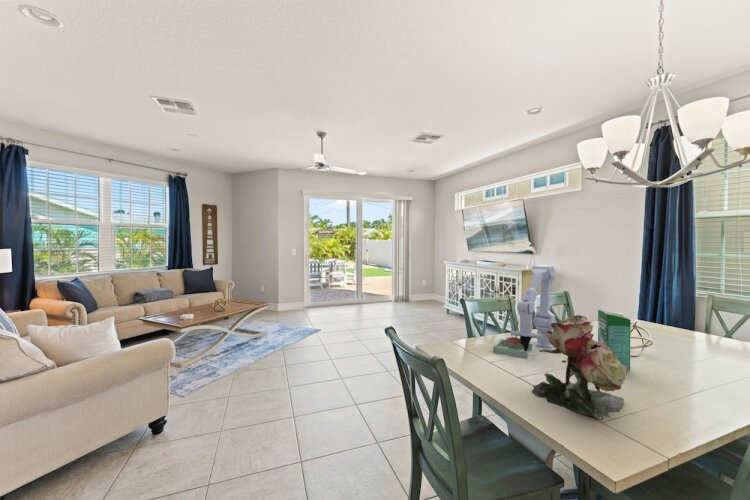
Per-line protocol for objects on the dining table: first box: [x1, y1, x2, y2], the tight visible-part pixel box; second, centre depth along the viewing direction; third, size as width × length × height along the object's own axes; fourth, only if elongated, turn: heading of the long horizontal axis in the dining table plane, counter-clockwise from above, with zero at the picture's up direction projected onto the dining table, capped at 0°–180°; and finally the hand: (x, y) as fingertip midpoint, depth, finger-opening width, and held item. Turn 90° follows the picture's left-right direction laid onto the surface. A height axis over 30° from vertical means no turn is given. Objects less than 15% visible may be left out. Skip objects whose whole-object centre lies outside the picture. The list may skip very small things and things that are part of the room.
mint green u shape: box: [493, 338, 533, 359], centre depth 172 cm, size 15×16×3 cm
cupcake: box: [504, 327, 522, 350], centre depth 171 cm, size 9×8×12 cm
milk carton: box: [597, 309, 632, 372], centre depth 149 cm, size 9×9×25 cm
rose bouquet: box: [525, 314, 629, 421], centre depth 120 cm, size 26×29×30 cm
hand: (525, 350), depth 168 cm, fingers closed
